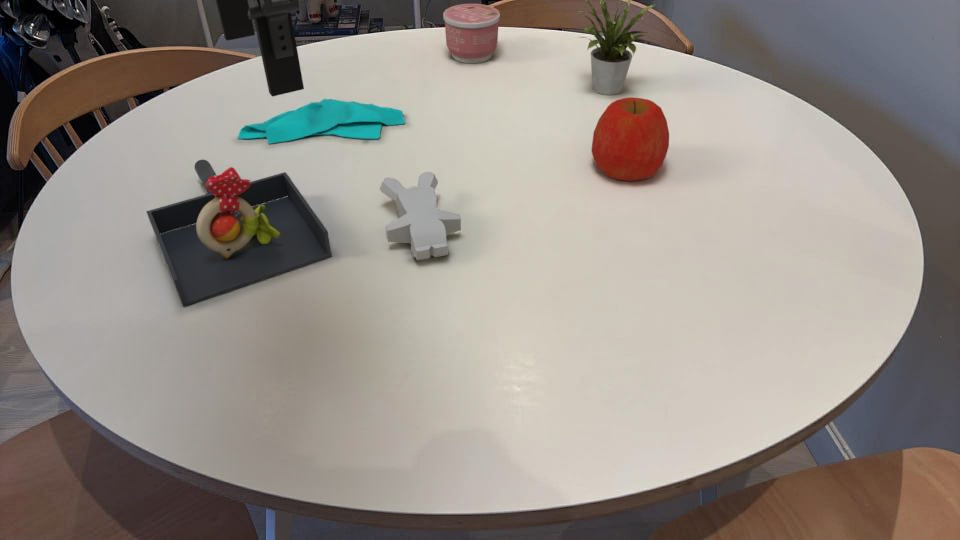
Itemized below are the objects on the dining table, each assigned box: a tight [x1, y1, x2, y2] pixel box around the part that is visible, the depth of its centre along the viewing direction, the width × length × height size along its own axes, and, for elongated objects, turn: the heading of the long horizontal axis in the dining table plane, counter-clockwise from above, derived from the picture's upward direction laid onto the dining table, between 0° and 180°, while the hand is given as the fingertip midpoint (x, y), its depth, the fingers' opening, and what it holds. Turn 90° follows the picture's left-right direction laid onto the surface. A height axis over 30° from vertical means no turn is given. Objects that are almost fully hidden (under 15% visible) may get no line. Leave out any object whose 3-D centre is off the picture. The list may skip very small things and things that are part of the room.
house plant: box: [577, 0, 658, 96], centre depth 118 cm, size 14×14×16 cm
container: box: [442, 3, 501, 64], centre depth 131 cm, size 10×10×8 cm
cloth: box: [237, 98, 406, 145], centre depth 113 cm, size 26×14×2 cm, turn 93°
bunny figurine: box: [379, 171, 462, 261], centre depth 90 cm, size 10×5×15 cm
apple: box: [591, 96, 670, 182], centre depth 99 cm, size 11×11×11 cm
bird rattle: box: [195, 166, 280, 259], centre depth 84 cm, size 6×11×9 cm
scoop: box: [146, 159, 333, 308], centre depth 91 cm, size 27×18×4 cm
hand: (261, 62), depth 62 cm, fingers open, 13 cm apart
